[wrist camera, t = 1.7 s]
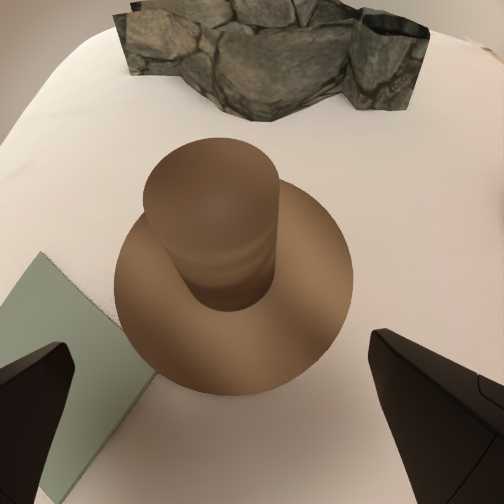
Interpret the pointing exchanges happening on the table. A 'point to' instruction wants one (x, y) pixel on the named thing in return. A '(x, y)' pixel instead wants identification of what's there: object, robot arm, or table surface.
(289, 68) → the stone wall
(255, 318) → the walnut lid
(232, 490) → the table surface
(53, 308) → the rubber mat
